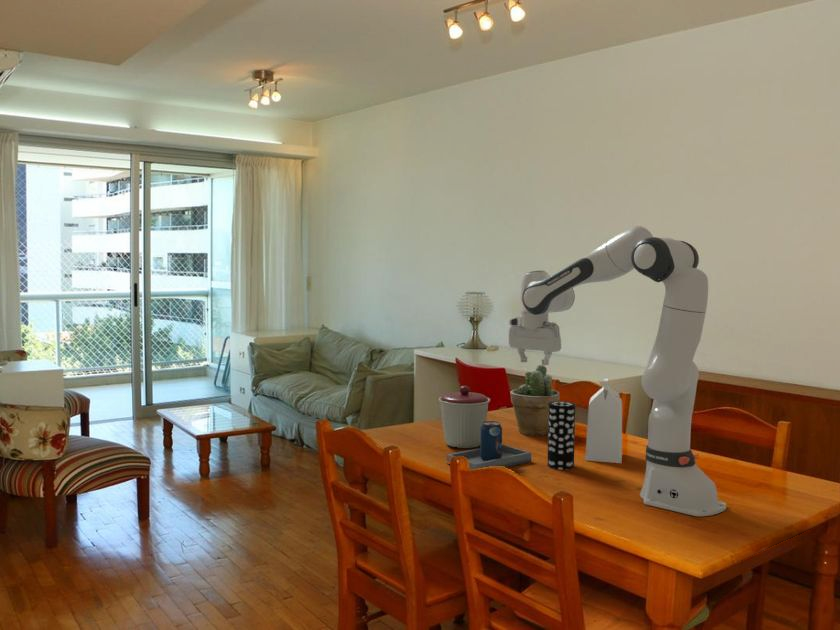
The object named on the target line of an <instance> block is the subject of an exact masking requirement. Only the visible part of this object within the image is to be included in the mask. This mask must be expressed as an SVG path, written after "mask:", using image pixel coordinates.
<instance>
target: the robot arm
mask: <svg viewBox="0 0 840 630" xmlns="http://www.w3.org/2000/svg"><path fill="white" fill-rule="evenodd" d="M699 262H700V259H699V253H698V251H697V249H696V248H695V247H694V246H693V245H692V244H690V243H689V242H686V241H684V240H677V239H673V238H670V237H656V236H655V237H654V235H653V234H652V233H651V231H649V229H647V228H646V227H645V226H642V225H640V226H639V225H635V226H632V227H629V228H627V229H624V230H623V231H621V232H619V233H617V234H615V235H614V236H612V237H610V238H609V239H607V240H606V241H604V242H603V243H602V244H600V245H599V246H597V247H596V248H594V249H593V250H592V251H590V252H588V253H587V254H586V255H584V256H582V257H581V258H579V259H578V260H576V261H574V262H572V263H571V264H568V265H567V266H565V267H564V268H562V269H561V270H559V271H557V272H556V273H553V274H552V275H550V274H549V273H548V272H547V271H545V270H532V271H528V272H526V273H524V274H523V276H522V279H521V284H520V300H521V309H520V315H518V316H515V317H513V318H510V319H509V320H508V324H509V326H510V327H509V330H508V344H509V347H510V348H512V349H513V348H515V349H517V353H518V355H519V357H520V358H519V359H520V363H527V362H528V356H526V353H525V351H526V350H531V351H540V352H543V355H544V357H543V359H541V365H543V366H548V365H550V359H551V357H552V355H553V353H556V352H557V353H558V352H560V351H561V349H562V338H561V333H560V326H559V325H558V324H557V322H555V321H554V322H553V321H552V322H550V321H549V314H550V313H551V314H552V313H560V312H565V311H568V310H570V309H571V308H572V307H573V305H574V304H575V299H576V298H575V297H576V296H575V291H574V288H575V287H578V286H581V285H586V284H590V283H591V284H592V283H600V282H608V281H612V280H615V279H619V278H621V277H622V276H624V275H627V274H628V273H629V272H631V271H633V270H634V269H635V270H636V271H637V272H638V273H639V274H641V275H642V276H645V277H647V278H649V279H650V280H652V281H653V282H655V283H661V282H662V283H663V285H664V288H665V290H664V292H665V294H664V297H663V299H664V300H663V303H662V308H661V315H660V319H659V326H658V330H657V333H656V337H655V340H654V343H653V345H652V348H651V350H650V355H649V358H648V361H647V365H646V367H645V370H644V371H643V373H642V377H641V387H642V390H643V391H644V393H645V395H647V396H648V397H649V398H650V399H652V400H653V401H652V406H651V410H650V414H649V415H648V416H649V417H648V423H647V425H648V428H647V430H648V431H647V445H646V446H645V462H646V464H645V465H646V466H645V467H646V468H645V474H644V480H643V483H642V487H641V490H640V492H639V496H640V498H641V499H642V500H643V504H645V505H647V506H652V507H655V508H660V509H664V510H669V511H673V512H677V513H681V514H684V515H689V516H694V517H707V516H708V517H709V516H714V515H716V514H721V512H724V511H725V510H727V503H726V502H723V500H722V501H721V500H720V499H719V498H718V491H717V487H716V484H715V482H714V481H713V480H712V479H710V478H709V476H707V474H706V473H705V472H703V470H702V469H701V468H699V466H697V464H696V460H697V459H699V458H700V457H699V456H700V454H699V453H698V454H693V451H692V448H691V433H692V432H691V431H692V430H691V429H692V417H693V411H694V406H695V401H696V396H697V395H696V394H697V386H698V381H699V376H700V371H699V368H698V366H697V364H696V363H695V362H694V357H695V355H696V352H697V348H698V347H699V344H700V342H701V340H702V338H701V337H702V333H703V328H704V323H705V318H706V312H707V307H708V300H709V279H708V276H707V274H706V273H705V272H704V271H703V270H701V269H699V268H698V266H699ZM718 499H719V500H718Z"/></svg>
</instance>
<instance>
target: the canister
mask: <svg viewBox="0 0 840 630" xmlns="http://www.w3.org/2000/svg"><path fill="white" fill-rule="evenodd" d="M470 390H471V389H470V387H469V386H467V385H462V386H460V387H459V391H455V392H447V393H445V394H443V395H442V396H440V397H438V401H439V402H440V411H441V421H442V422H441V423H442V430H443V437H444V441H445V443H446V444H447V445H448V446H449V447H452V448H455V447H457V448H456V449H475V448H478V447H479V446H480V433H481V426H482V423H483V422H485V421H487V418H488V410H489V409H488V408H489V403H490V402H491V398H489V397H487V396H486V395H485V394H482V393H480V392H479V393H478V392H474V391H473V392H472V391H471V392H470Z"/></svg>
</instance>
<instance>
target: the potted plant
mask: <svg viewBox="0 0 840 630" xmlns="http://www.w3.org/2000/svg"><path fill="white" fill-rule="evenodd" d="M547 372H548V370H547V367H546V365H542V364H538V365H537V366H536V368H535V369H534V370H533V371H531V372H530V371H526V372H525V377H524V381H525V384H524V383H523V384H522V385H520V386H518V388H515V389H512V390H511V391H509V392H510V402H511V404H512V406H513V410H514V415H515V420H516V423H517V429H518V432H520V433H521V434H522V435H524V434H525V436H529V435H532V436H531V437H534V436H533V435H536V436H535V437H540V436H539V435H543V436H548V435H547V434H548V410H549V403H550V402H556V401H560V395H561V393H560V391H558V390H556V389H552V382H553V377H552V375H550V374H547Z"/></svg>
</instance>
